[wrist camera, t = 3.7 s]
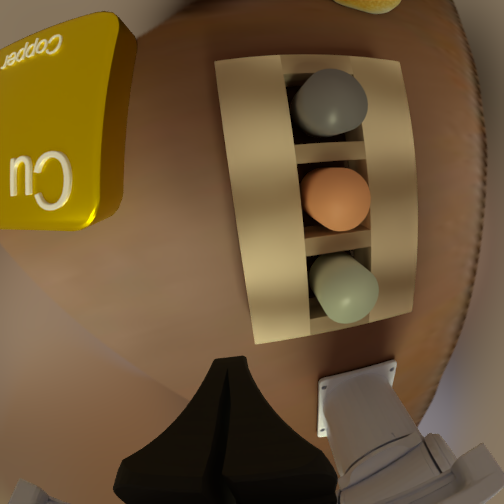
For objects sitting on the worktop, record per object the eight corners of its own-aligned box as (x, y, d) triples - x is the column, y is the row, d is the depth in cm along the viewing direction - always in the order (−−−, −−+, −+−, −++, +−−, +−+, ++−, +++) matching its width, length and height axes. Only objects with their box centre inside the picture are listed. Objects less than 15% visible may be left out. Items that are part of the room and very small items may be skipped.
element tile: (143, 28, 15) (122, 0, 10) (125, 220, 19) (96, 235, 15) (8, 67, 14) (-23, 58, 9) (-4, 219, 18) (-37, 231, 14)
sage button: (357, 294, 20) (377, 316, 16) (310, 303, 20) (323, 328, 16) (356, 246, 19) (379, 263, 15) (306, 254, 19) (321, 273, 15)
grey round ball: (348, 137, 16) (372, 131, 13) (294, 140, 16) (308, 133, 13) (340, 85, 15) (361, 70, 12) (286, 86, 15) (298, 68, 12)
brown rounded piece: (350, 217, 19) (371, 227, 16) (301, 223, 19) (314, 235, 16) (346, 165, 18) (368, 165, 15) (295, 169, 18) (308, 170, 15)
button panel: (394, 295, 22) (411, 311, 19) (252, 322, 21) (255, 344, 19) (379, 72, 16) (399, 61, 14) (217, 76, 16) (214, 61, 13)
